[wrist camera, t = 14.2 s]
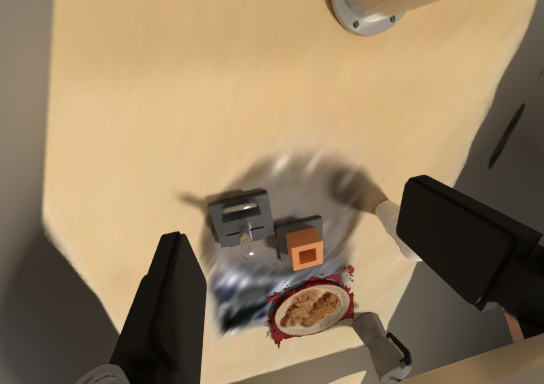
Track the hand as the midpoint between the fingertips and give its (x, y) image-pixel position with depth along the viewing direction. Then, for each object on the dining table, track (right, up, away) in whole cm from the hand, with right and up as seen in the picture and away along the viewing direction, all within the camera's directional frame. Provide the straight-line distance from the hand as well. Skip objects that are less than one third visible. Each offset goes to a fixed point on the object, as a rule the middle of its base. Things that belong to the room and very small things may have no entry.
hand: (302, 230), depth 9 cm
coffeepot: (+30, -40, +63) cm, 80 cm away
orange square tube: (+5, -9, +38) cm, 40 cm away
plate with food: (+9, -30, +53) cm, 62 cm away
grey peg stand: (-7, -4, +33) cm, 34 cm away
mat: (+5, -9, +39) cm, 40 cm away
